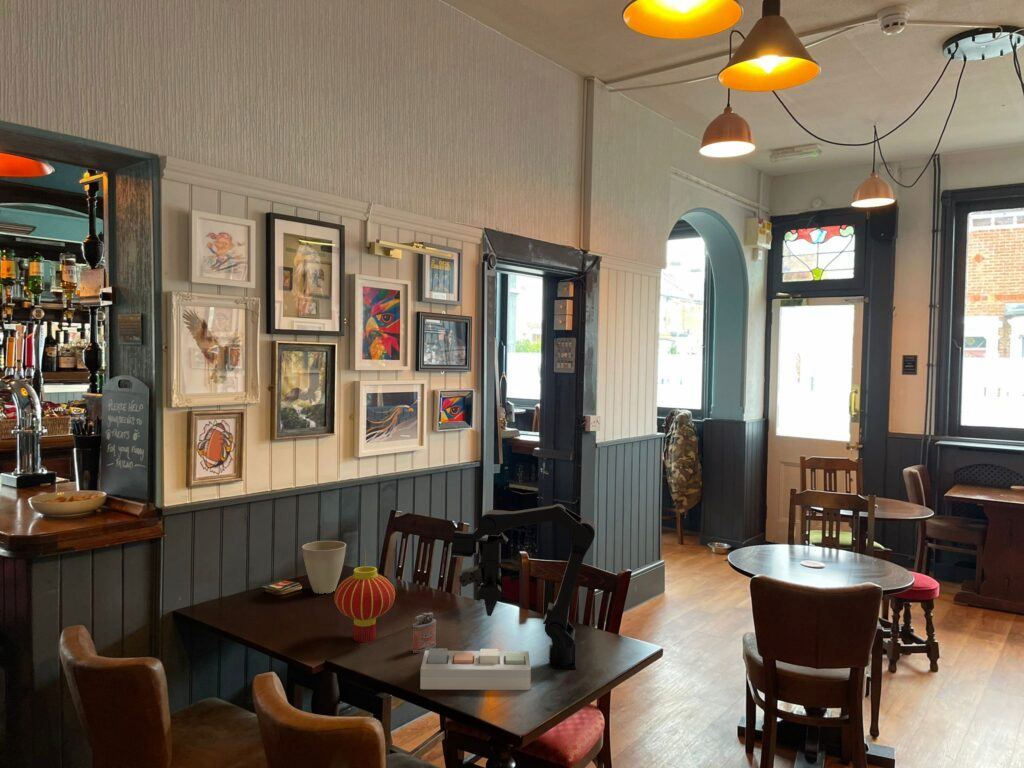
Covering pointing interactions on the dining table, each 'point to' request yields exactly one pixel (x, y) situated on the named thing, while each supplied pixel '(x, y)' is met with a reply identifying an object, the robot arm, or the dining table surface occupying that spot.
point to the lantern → (364, 599)
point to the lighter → (424, 633)
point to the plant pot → (324, 564)
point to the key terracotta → (463, 658)
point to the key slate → (437, 656)
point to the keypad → (476, 673)
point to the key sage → (514, 658)
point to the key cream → (488, 656)
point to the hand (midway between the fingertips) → (489, 615)
